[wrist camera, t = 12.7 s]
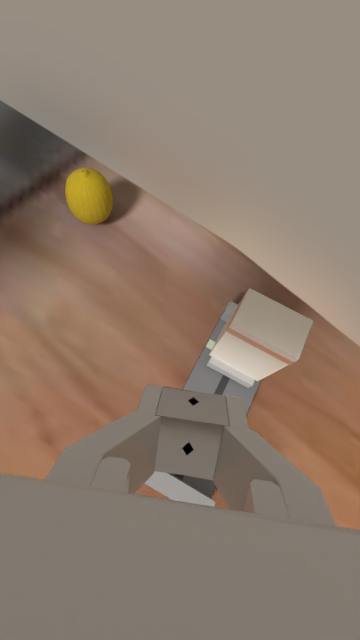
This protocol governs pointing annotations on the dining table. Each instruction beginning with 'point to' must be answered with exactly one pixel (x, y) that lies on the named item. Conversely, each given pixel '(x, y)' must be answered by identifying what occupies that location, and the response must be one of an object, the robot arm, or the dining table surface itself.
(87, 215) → the lemon
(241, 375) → the slider knob
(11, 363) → the dining table surface
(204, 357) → the slider track
